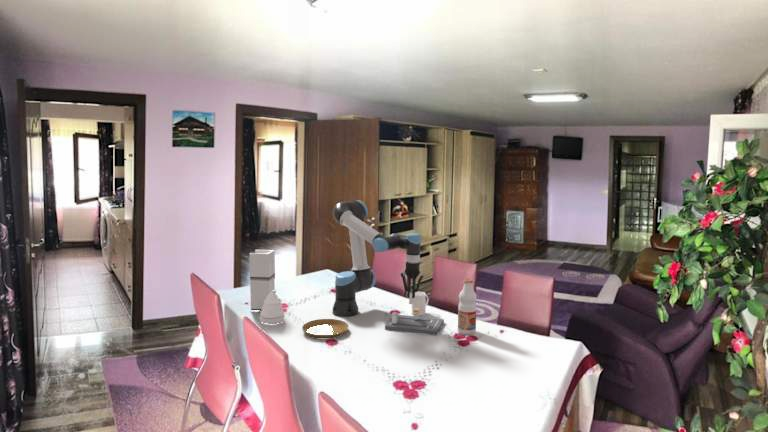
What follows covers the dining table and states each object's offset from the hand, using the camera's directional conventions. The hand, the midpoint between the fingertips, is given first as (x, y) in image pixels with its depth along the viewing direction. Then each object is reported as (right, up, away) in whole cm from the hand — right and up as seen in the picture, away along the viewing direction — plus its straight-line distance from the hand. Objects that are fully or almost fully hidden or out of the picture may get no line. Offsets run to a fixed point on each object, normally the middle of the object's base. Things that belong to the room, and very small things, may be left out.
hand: (411, 303), depth 290 cm
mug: (+7, -9, +18) cm, 21 cm away
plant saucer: (-46, -13, -15) cm, 50 cm away
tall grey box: (-86, -7, +21) cm, 89 cm away
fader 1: (-9, -9, -7) cm, 15 cm away
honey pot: (-77, -10, +1) cm, 77 cm away
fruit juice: (+29, -13, -12) cm, 34 cm away
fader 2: (+3, -8, 0) cm, 9 cm away
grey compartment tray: (+2, -12, -5) cm, 13 cm away
